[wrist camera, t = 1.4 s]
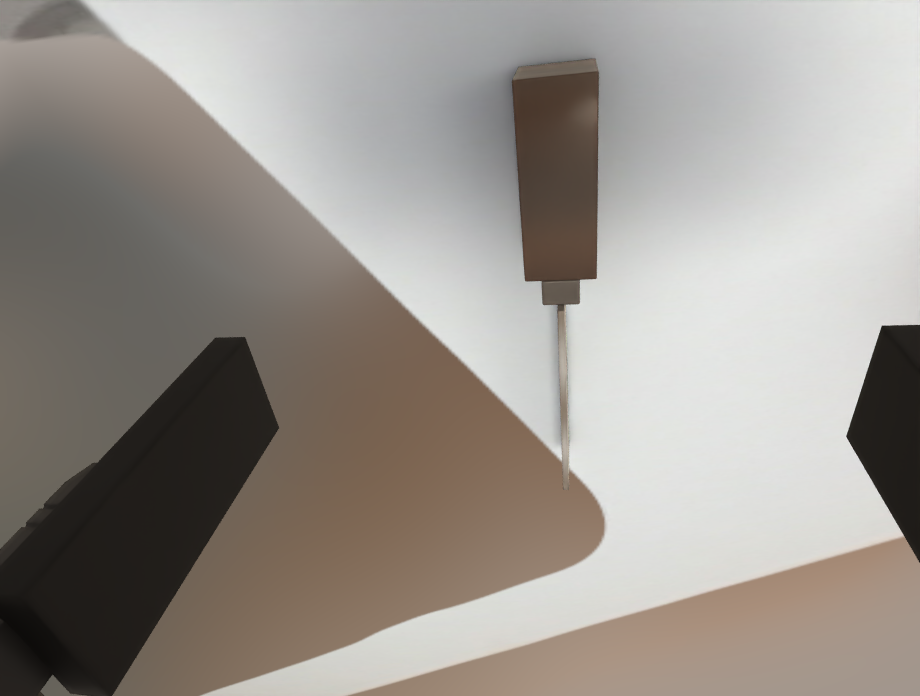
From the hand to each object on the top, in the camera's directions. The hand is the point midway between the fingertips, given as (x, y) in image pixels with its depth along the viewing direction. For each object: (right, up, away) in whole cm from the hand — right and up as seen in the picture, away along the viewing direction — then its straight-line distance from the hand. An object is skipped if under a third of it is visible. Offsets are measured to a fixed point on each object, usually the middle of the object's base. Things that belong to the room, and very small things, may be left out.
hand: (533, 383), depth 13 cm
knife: (+3, +4, +16) cm, 16 cm away
